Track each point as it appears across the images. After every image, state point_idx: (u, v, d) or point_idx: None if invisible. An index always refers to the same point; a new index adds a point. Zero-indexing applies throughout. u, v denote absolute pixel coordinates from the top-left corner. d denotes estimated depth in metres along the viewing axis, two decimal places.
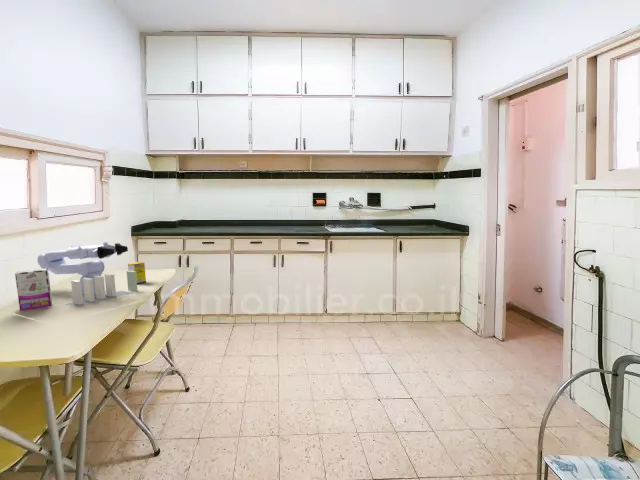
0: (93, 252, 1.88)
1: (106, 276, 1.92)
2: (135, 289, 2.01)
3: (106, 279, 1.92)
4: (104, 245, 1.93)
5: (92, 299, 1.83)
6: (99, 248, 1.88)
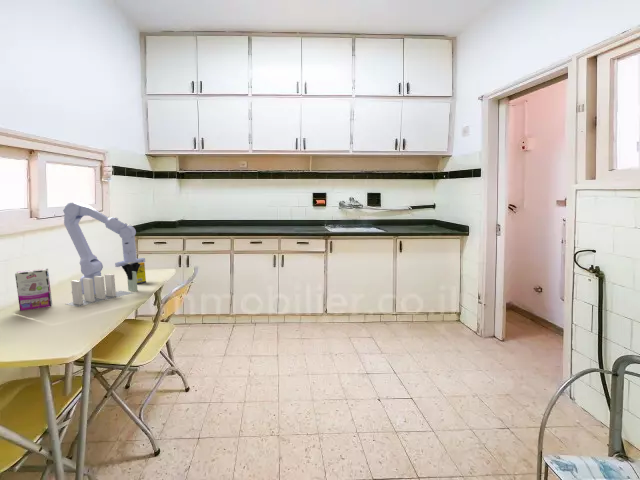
0: (116, 264, 1.94)
1: (106, 276, 1.92)
2: (135, 289, 2.01)
3: (106, 279, 1.92)
4: (132, 262, 1.98)
5: (92, 299, 1.83)
6: (127, 268, 1.97)
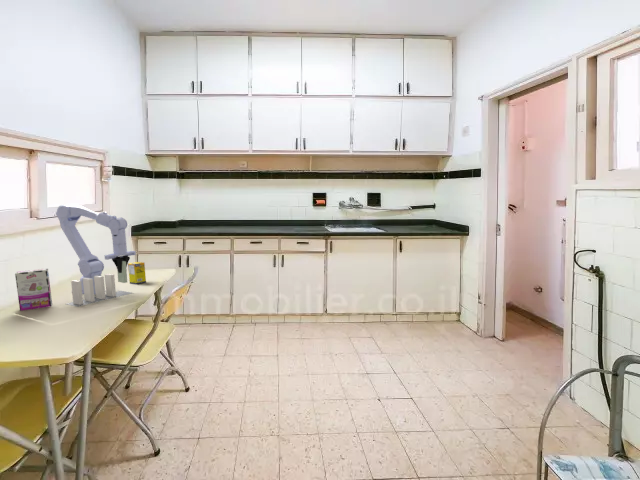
0: (106, 257, 1.90)
1: (106, 276, 1.92)
2: (125, 279, 1.96)
3: (106, 279, 1.92)
4: None
5: (92, 299, 1.83)
6: (117, 261, 1.93)
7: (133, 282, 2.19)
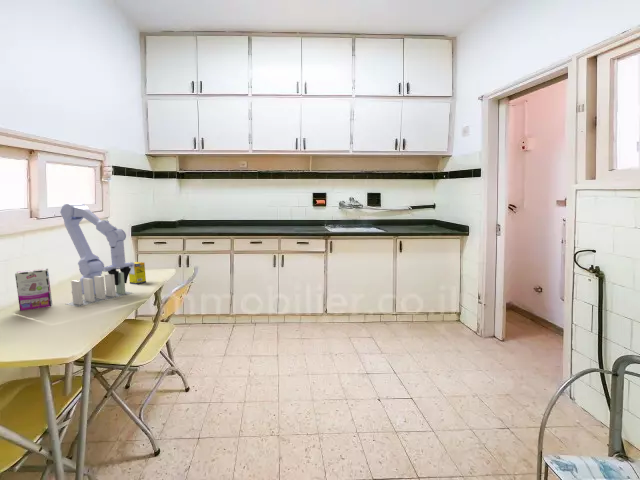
0: (104, 269, 1.89)
1: (106, 276, 1.92)
2: (123, 290, 1.96)
3: (106, 279, 1.92)
4: (120, 267, 1.93)
5: (92, 299, 1.83)
6: (113, 273, 1.91)
7: (133, 282, 2.19)
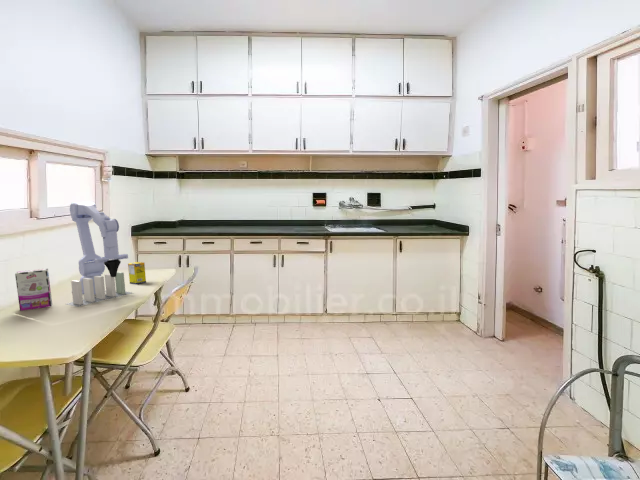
0: (96, 261, 1.79)
1: (106, 276, 1.92)
2: (123, 290, 1.96)
3: (106, 279, 1.92)
4: (113, 258, 1.84)
5: (92, 299, 1.83)
6: (110, 264, 1.83)
7: (133, 282, 2.19)
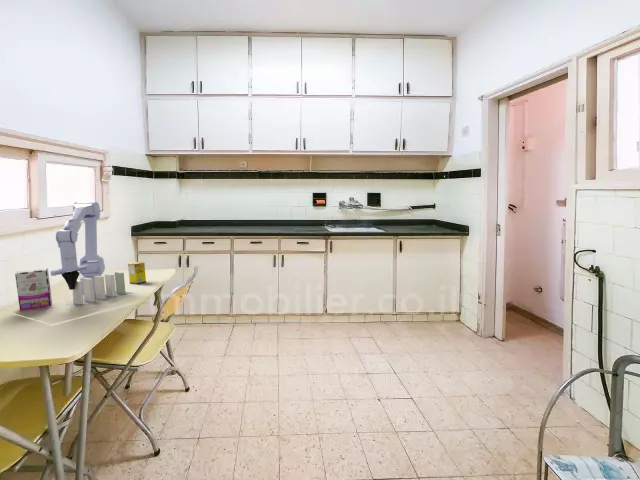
0: (52, 273, 1.71)
1: (106, 276, 1.92)
2: (123, 290, 1.96)
3: (106, 279, 1.92)
4: (71, 270, 1.75)
5: (92, 299, 1.83)
6: (67, 276, 1.74)
7: (133, 282, 2.19)
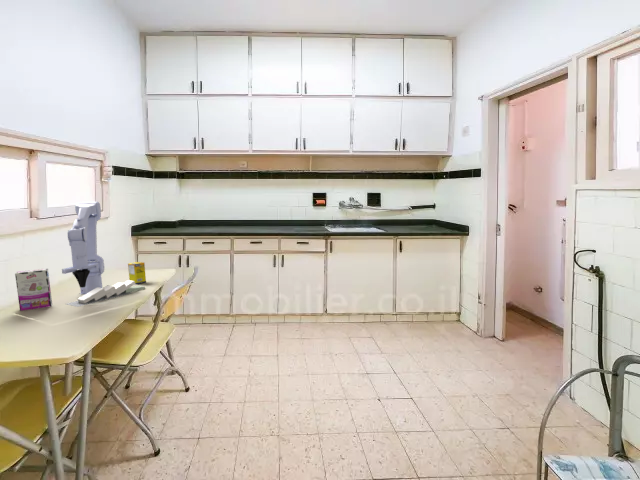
0: (63, 271, 1.74)
1: (128, 281, 2.01)
2: (128, 290, 1.98)
3: None
4: (82, 268, 1.78)
5: (96, 297, 1.85)
6: (78, 274, 1.78)
7: None
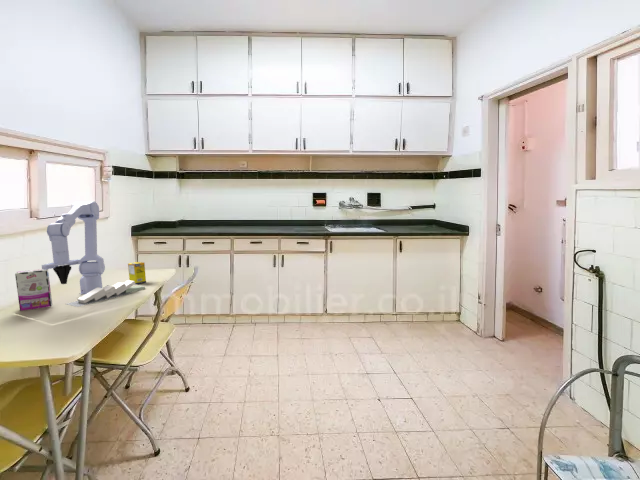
0: (43, 267, 1.68)
1: (128, 281, 2.01)
2: (128, 290, 1.98)
3: None
4: (63, 264, 1.72)
5: (96, 297, 1.85)
6: (59, 271, 1.71)
7: None
